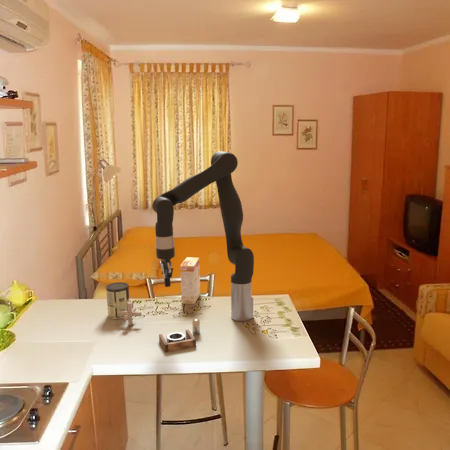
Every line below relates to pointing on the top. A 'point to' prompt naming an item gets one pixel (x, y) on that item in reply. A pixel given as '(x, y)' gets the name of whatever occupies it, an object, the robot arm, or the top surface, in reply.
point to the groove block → (178, 343)
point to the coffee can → (117, 299)
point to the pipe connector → (129, 313)
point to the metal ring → (175, 337)
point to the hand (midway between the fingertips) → (167, 286)
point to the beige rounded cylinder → (196, 326)
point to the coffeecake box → (190, 280)
